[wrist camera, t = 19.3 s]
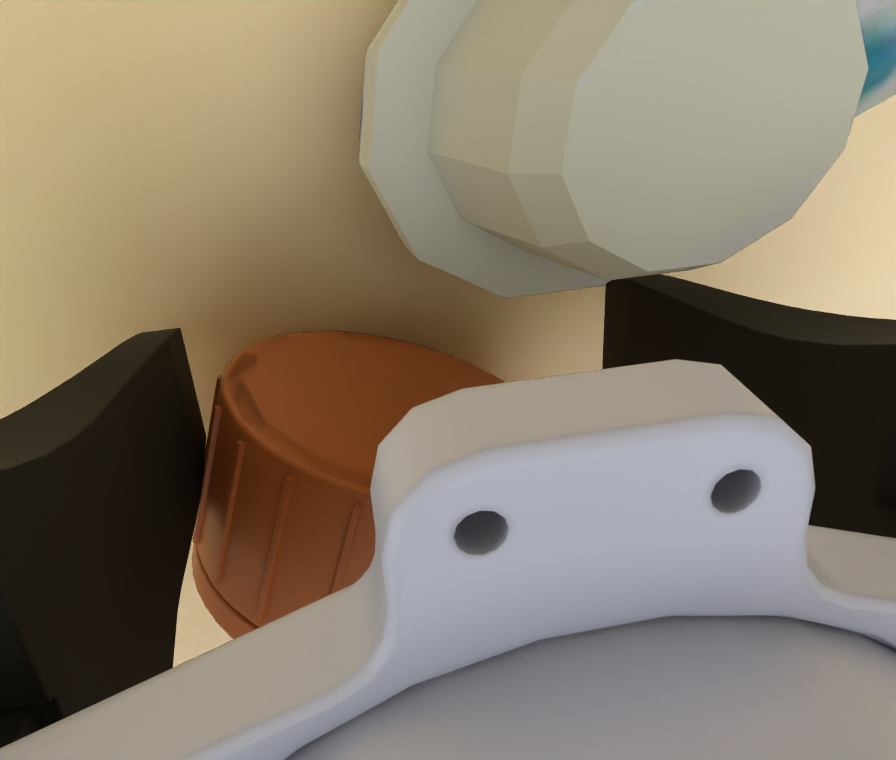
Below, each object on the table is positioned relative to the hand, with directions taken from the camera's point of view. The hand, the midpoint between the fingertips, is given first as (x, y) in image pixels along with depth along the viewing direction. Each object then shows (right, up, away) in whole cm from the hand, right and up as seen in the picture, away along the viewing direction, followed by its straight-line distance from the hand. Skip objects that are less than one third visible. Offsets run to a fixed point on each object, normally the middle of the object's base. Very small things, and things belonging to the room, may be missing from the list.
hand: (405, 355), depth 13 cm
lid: (0, -1, -1) cm, 1 cm away
